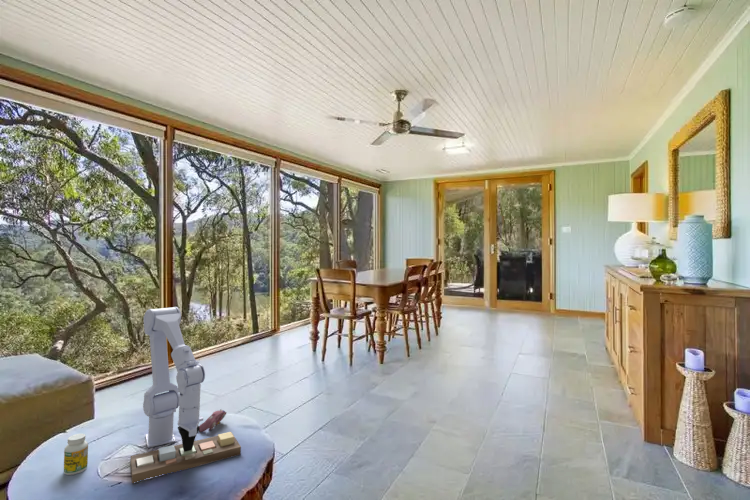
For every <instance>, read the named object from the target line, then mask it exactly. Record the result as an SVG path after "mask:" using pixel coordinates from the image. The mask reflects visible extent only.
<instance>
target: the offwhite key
mask: <svg viewBox="0 0 750 500" xmlns="http://www.w3.org/2000/svg"><path fill="white" fill-rule="evenodd" d="M150 464H154V460H153V456H152V455H151V456H147V457H142V458H138V459H137V460H136V468H138V467H142V466H146V465H150Z"/></svg>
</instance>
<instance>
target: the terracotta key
mask: <svg viewBox="0 0 750 500" xmlns="http://www.w3.org/2000/svg"><path fill="white" fill-rule="evenodd" d="M213 448H215V444H214V442H213V441H209V442H205V443H201V444H199V449H200V451H205V450H209V449H213Z"/></svg>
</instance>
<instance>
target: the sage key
mask: <svg viewBox="0 0 750 500" xmlns="http://www.w3.org/2000/svg"><path fill="white" fill-rule="evenodd" d="M193 453H196V450H195V447H194V445H193V448H192V450H190V451H186V452H184V449H183V448H180V449H179V454H180V457H181V456H185V455H189V454H193Z"/></svg>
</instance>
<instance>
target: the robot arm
mask: <svg viewBox="0 0 750 500" xmlns="http://www.w3.org/2000/svg"><path fill="white" fill-rule="evenodd" d="M181 321H182V313H181V310H180V308H179V307H178V306H173V307H163V308H148V309H146V311H145V313H144V315H143V330H144V334H145V335H147V336H149V347H150V360H151V374H152V375H151V376H152V385H151V386H150V387H149V388H148V389H147V390H146V391H145V392H144V394H143V402H142V410H143V413H144V415H145V416H147V417H148V433H146V434H144V435H145V441H146V446H147V448H149V449H150V448H153V447H154V448H155V447H159V446H162V445H167V444H171V443H175V442H176V437H175V435H174V417H175V416H174V414H175V413H176V411H177V409H178V420H177V425H178V426H177V430H178V433H179V435H180V439H181V444H182V445H183V449H184V452H186V451H190V450H192V448H193V444H194V441H196V437H197V435H198V434H199V429H200V428H199V426H200V425H199V424H200V422H202V421H204V417H203V416H202V415H201V416H200V409H201V407H200V406H201V386H202V385H201V384H202V383H204V381H205V379H206V372H205V368H204V366H203V365H202V364H201V363H200V362H199V361H197V360H196V358H195V355H194V353H193V351H192V349H191V346H190V345H187V344H185V340H184V337H183V334H182V330H181V327H180V324H181ZM167 341H168V342H169V344H170V346H171V349H172V352H171V353H170V356H171V359H172V361H173V364H174V367H175V369H176V372H177V374H176V377H175V378H176V384H177V385H176V384H174V383H172V382H171V381H170V368H169V356H168V354H169V353H168V343H167Z"/></svg>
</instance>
